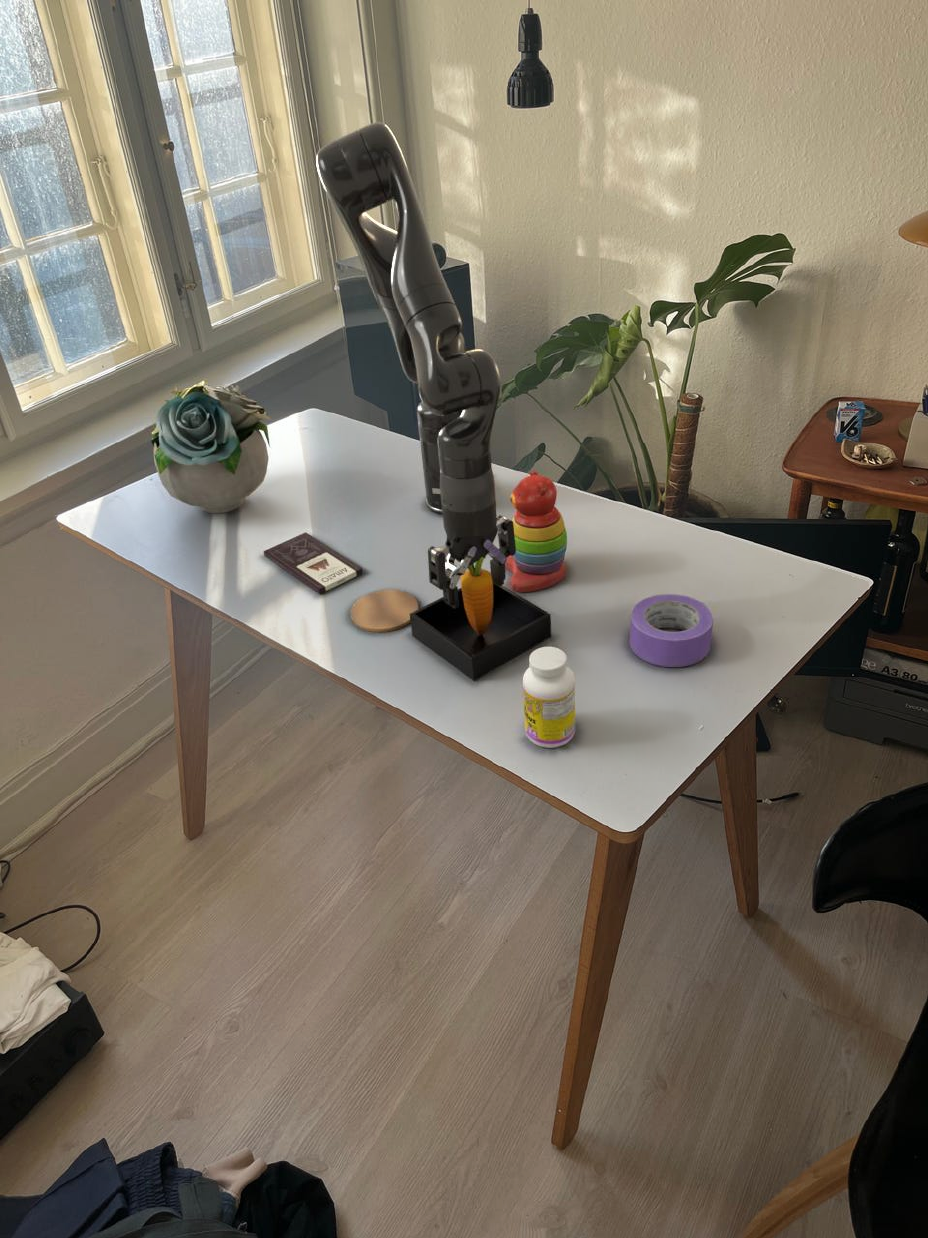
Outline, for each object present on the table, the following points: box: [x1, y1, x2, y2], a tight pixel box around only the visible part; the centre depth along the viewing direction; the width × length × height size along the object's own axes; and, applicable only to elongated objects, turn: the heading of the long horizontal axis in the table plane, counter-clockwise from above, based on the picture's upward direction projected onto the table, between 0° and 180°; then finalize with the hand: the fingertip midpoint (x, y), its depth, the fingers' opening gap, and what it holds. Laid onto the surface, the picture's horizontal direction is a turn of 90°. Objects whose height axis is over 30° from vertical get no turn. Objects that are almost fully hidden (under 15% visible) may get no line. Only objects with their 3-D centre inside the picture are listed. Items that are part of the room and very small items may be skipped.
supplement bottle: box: [522, 646, 576, 749], centre depth 118 cm, size 7×7×13 cm
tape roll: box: [629, 593, 714, 668], centre depth 134 cm, size 12×12×5 cm
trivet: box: [349, 589, 420, 633], centre depth 148 cm, size 11×11×1 cm
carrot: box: [460, 557, 493, 636], centre depth 136 cm, size 5×5×15 cm
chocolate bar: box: [263, 531, 364, 595], centre depth 161 cm, size 9×1×18 cm
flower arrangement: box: [150, 377, 272, 514], centre depth 175 cm, size 25×25×24 cm
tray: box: [410, 583, 552, 682], centre depth 139 cm, size 15×15×4 cm
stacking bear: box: [505, 470, 568, 593], centre depth 148 cm, size 11×10×18 cm
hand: (475, 594), depth 136 cm, fingers open, 8 cm apart
